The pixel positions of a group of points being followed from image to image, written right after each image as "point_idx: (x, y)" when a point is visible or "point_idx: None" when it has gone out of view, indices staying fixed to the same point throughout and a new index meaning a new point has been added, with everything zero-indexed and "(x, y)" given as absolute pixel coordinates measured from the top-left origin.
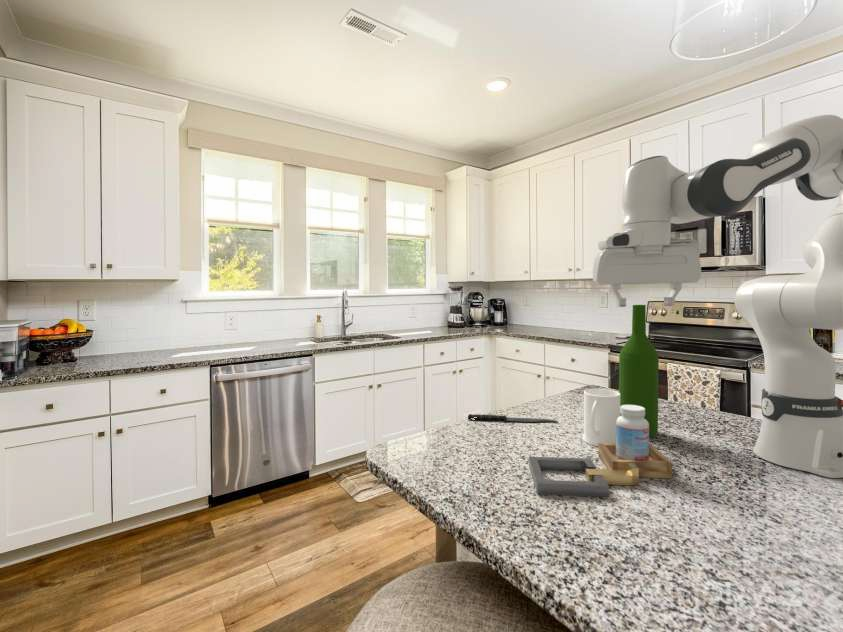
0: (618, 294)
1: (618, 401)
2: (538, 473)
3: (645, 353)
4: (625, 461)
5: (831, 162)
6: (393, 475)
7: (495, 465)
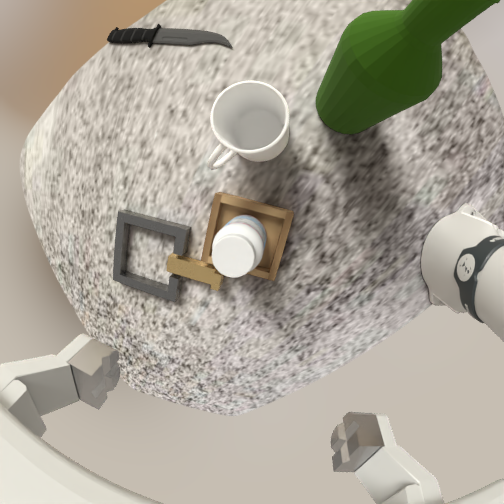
0: (53, 403)
1: (271, 148)
2: (117, 258)
3: (395, 90)
4: None
5: None
6: (30, 215)
7: (94, 202)
